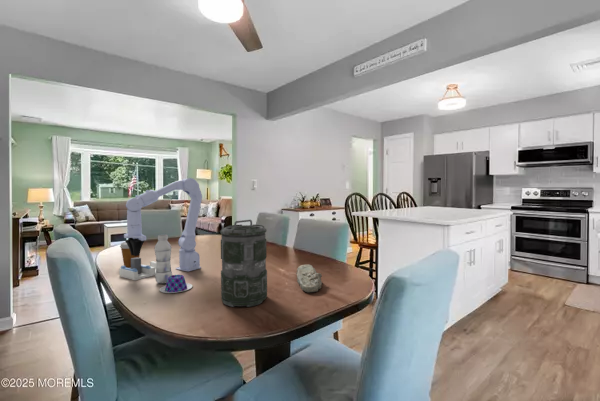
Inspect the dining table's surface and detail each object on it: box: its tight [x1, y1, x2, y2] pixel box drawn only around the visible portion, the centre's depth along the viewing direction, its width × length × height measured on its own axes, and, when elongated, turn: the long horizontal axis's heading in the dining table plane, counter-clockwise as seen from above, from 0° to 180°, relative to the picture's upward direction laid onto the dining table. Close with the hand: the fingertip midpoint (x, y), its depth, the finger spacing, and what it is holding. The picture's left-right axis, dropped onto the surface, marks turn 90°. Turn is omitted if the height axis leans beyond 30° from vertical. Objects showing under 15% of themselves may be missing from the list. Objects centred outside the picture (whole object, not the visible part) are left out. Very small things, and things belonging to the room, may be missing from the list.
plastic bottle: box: [153, 233, 173, 284], centre depth 127 cm, size 6×7×20 cm
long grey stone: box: [295, 263, 323, 293], centre depth 131 cm, size 35×5×10 cm
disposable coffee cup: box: [119, 242, 141, 269], centre depth 155 cm, size 10×10×12 cm
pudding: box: [159, 274, 193, 294], centre depth 120 cm, size 12×12×5 cm
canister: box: [219, 219, 268, 308], centre depth 107 cm, size 16×16×28 cm
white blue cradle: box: [118, 260, 156, 281], centre depth 141 cm, size 12×16×5 cm
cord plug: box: [130, 256, 142, 274], centre depth 138 cm, size 3×3×7 cm
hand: (135, 255), depth 137 cm, fingers closed
